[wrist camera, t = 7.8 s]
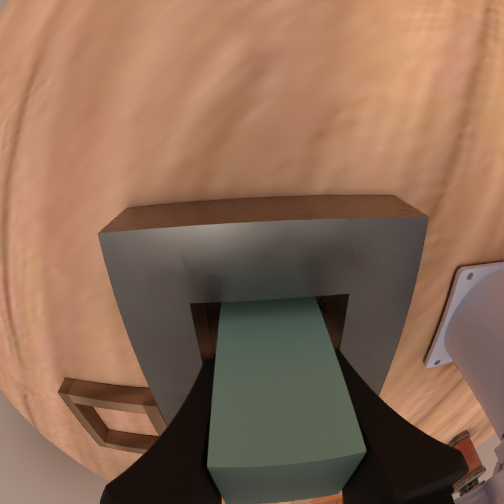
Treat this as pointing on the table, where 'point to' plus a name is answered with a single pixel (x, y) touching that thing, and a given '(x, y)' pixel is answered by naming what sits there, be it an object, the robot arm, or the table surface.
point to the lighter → (473, 461)
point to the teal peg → (279, 406)
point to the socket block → (262, 275)
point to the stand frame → (115, 398)
